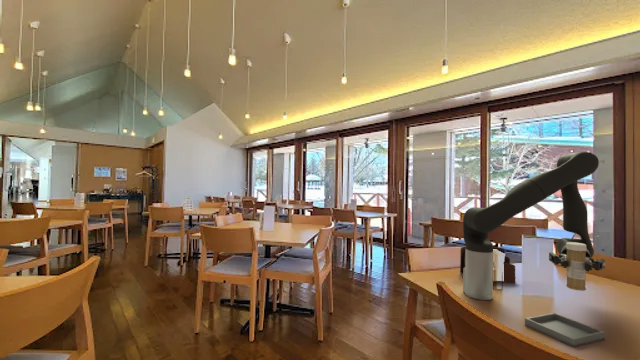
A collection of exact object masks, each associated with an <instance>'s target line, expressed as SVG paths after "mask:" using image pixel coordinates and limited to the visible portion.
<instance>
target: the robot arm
mask: <svg viewBox="0 0 640 360" xmlns="http://www.w3.org/2000/svg"><path fill="white" fill-rule="evenodd" d="M599 164H600V161H599V158H598V156H597V155H596V154H594V153H593V152H589V151H577V152H571V153H566V154H563V155H561V156H560V157H559V158H558V159H557V162H556V168H552V169H551V170H548V171H545V172H541V173H538V174H536V175H533V176H531V177H528V178H526V179H524V180H523V181H521V182H520V183H517V184H516V185H514V186H513V187H511V189H510V190H509V191H508V192H507V194H506V195H505V196H504V197H503V198H502V199H500V200H499V201H497V202H495V203H493V204H492V205H489V206H486V207H478V206H476V207H475V206H473V207H470V208H468V209H467V210H466V211H465V213H464V214H463V221H462V225H463V226H462V229H463V230H462V231H463V235H462V236H463V242H464V245H465V246H466V260H465V267H464V268H463V276H462V293H463V294H465V295H466V296H467V297H469V298H471V299H475V300H481V301H489V300H492V299H493V297H494V296H493V293H494V292H493V291H494V289H493V288H494V287H493V286H494V285H493V284H494V282H493V247H494V244H493V243H492V241H491V240H490V238H489V233H492V232H494V231H495V230H496V229H498V228H499V227H500V226H502V225H504V224H505V223H506V222H507V221H509V220H510V219H512V218H513V217H515V216H517V215H519V214H521V213H523V212H524V211H525V210H528V209H529V208H532V207H533V206H535V205H537V204H538V203H540V202H542V201H543V200H545V199H548V197H551V196H552V195H554V194H555V193H557V192H559V191H560V192H561V194H560V195H561V199H562V211H563V212H562V228H563V231H565V232H568V233H572V234H575V235H578V236H579V237H580V239H579V238H569V237H562V238H559V240H558V241H557V242H556V243H557V244H556V250H557V253H558V255H557V253H555V252H551V251H550V252H549V253H548V261H550V262H551V263H552V264H554V265H559V264H560V266H561V267H563V268H564V269H567V248H566V243H567V242H576V243H583V244H586V272H590V271H593V269H594V270H595V271H596V272H597V271H598V272H599V271H602V270H603V269H606V259H604V258H599V259H598V258H597V259H596V260H594V258H593V256H594V255H595V254H594V253H595V250H594V246H593V243H592V240H591V238H590V235H589V234H590V233H589V229H588V209H587V206H586V203H585V201H584V199H583V198H582V196H581V194H580V191H579V188H578V187H579V186H578V181H579V180H582V179H584V178H586V177H589V176H592V175H593V174H594V173H595V172H596V171H597V169H598V168H599Z"/></svg>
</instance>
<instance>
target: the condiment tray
mask: <svg viewBox="0 0 640 360" xmlns="http://www.w3.org/2000/svg"><path fill="white" fill-rule="evenodd" d="M524 325H525V326H526V327H528V328H531V329H533V330H535V331H537V332H539V333H542V334H544V335H547V336H548V337H551V338H553V339H555V340H556V341H560V342H562V343H563V344H566V345H568V346H570V347H573V348H575V347H576V346H577V347H580V346H579V345H581V346H584V345H583V344H585V345H588V344H587V343H589V344H593V343H596V342H601V341H604V340H606V332H605V331H604V330H600V329H598V328H596V327H592V326H590V325H587V324H585V323H582V322H580V321H577V320H574V319H572V318H569V317H566V316H564V315H562V314H561V315H560V314H558V313H557V312H550V313H545V314H541V315H539V314H538V315H535V316H528V317H524Z"/></svg>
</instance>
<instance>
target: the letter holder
mask: <svg viewBox="0 0 640 360" xmlns="http://www.w3.org/2000/svg"><path fill="white" fill-rule="evenodd" d="M493 249H498V250H499V251H501V252H503V253H505V254H506V250H505V249H504V248H503V247H499V246H493ZM459 257H460V258H459V259H460V265H459V267H460V268H459V274H460V276H462V277H463V268H464V267H465V260H466V245H465V246H464V245H463V246H462V247H460V256H459ZM516 282H517V281H516V266H515V264H512V263H511V258H510V257H509V256H506V255H505V262H504V282H503V283H512V284H513V283H514V284H515V283H516Z"/></svg>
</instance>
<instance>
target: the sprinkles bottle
mask: <svg viewBox="0 0 640 360" xmlns="http://www.w3.org/2000/svg"><path fill="white" fill-rule="evenodd" d="M566 248H567V268H566V285H565V287H567V288H568V289H570V290H574V291H581V292H584V291H586V290H587V288H586V279H587V271H586V244H583V243H576V242H567V243H566Z"/></svg>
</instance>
